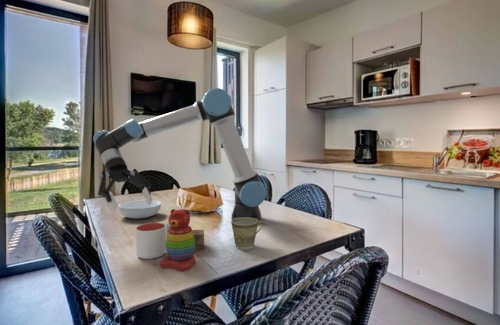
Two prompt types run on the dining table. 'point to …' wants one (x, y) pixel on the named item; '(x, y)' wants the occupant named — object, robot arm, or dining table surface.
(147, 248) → the cup
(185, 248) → the stacking bear
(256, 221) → the ceramic cup
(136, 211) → the serving bowl
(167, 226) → the grey rounded cylinder
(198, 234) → the walnut block
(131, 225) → the dining table surface
